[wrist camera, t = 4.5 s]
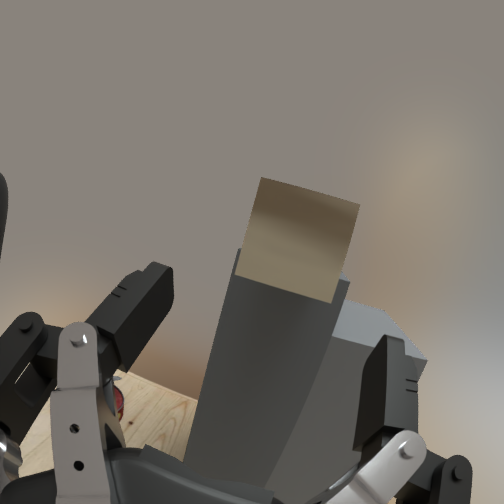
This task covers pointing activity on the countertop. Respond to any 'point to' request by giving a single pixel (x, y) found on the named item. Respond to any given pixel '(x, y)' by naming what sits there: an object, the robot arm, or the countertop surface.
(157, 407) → the countertop surface
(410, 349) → the block
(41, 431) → the countertop surface
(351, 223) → the birch bar
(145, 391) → the countertop surface
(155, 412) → the countertop surface
